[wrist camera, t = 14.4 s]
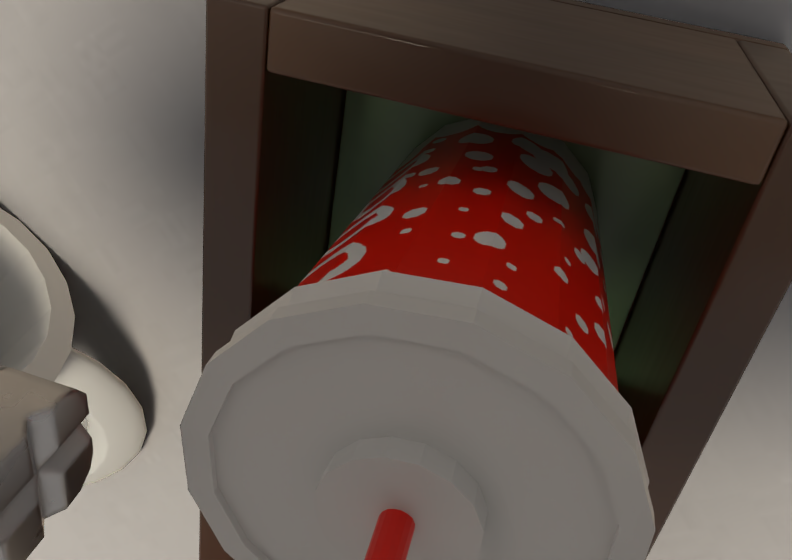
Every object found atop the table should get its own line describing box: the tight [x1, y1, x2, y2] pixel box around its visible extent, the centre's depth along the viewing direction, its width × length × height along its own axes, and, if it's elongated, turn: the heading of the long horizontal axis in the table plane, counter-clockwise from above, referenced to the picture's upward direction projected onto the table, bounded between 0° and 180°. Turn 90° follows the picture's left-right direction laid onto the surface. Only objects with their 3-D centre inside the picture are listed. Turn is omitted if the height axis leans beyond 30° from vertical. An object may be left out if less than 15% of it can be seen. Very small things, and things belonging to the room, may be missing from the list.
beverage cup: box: [180, 119, 655, 560], centre depth 11 cm, size 6×6×14 cm
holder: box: [199, 0, 792, 560], centre depth 18 cm, size 10×18×6 cm, turn 171°
